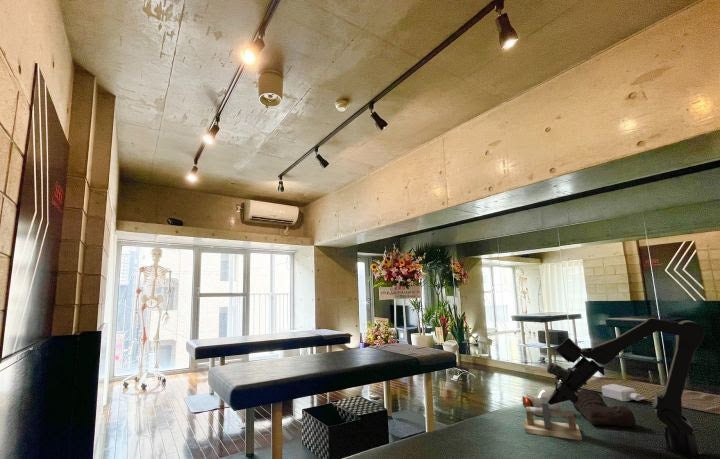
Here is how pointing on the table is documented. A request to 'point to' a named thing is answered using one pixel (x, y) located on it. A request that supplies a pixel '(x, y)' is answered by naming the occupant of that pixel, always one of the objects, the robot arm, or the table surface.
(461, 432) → the table surface
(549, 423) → the collar
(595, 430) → the table surface
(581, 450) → the table surface
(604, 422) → the brown curved lump
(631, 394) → the charger
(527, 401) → the potion bottle
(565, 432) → the pipe rig
